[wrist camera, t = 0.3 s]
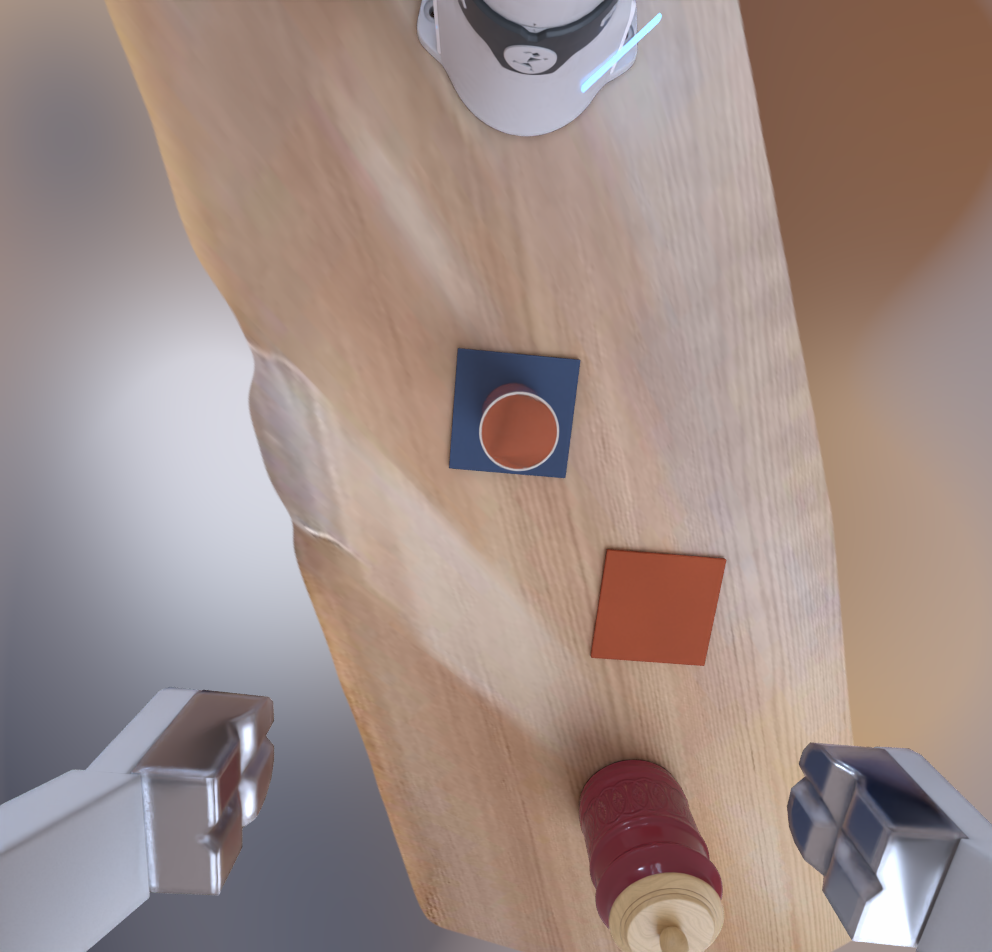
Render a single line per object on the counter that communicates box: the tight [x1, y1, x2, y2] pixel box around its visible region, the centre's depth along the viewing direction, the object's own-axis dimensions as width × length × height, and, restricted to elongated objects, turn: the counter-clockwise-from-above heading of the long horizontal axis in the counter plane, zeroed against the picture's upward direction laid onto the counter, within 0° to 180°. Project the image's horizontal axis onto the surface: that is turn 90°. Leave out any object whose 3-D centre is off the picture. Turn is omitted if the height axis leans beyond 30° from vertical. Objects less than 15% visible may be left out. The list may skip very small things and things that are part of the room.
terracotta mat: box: [591, 549, 726, 666], centre depth 60 cm, size 13×13×1 cm
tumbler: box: [479, 383, 559, 471], centre depth 50 cm, size 7×7×10 cm
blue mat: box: [449, 348, 580, 478], centre depth 55 cm, size 12×12×1 cm
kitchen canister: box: [579, 760, 724, 952], centre depth 58 cm, size 13×13×18 cm
